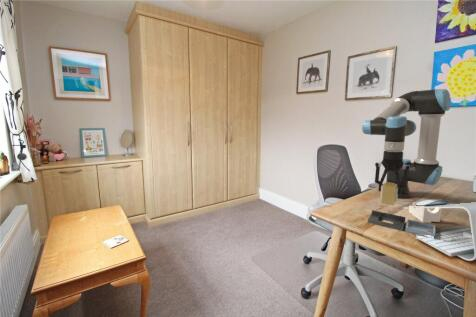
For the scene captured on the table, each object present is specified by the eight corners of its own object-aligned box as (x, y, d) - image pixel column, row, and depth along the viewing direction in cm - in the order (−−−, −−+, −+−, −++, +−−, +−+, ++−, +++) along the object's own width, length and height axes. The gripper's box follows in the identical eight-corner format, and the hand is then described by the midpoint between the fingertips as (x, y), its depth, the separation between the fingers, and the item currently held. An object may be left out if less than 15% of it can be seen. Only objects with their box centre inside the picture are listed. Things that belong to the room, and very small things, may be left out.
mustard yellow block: (383, 200, 114) (384, 181, 113) (395, 202, 111) (397, 183, 109) (381, 203, 111) (383, 183, 109) (393, 205, 107) (395, 185, 106)
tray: (407, 223, 111) (407, 219, 111) (434, 229, 105) (435, 225, 104) (405, 231, 104) (405, 227, 103) (434, 238, 97) (435, 233, 97)
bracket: (439, 223, 111) (441, 208, 110) (422, 222, 113) (424, 207, 111) (423, 212, 124) (425, 199, 122) (408, 212, 125) (410, 198, 124)
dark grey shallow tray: (371, 215, 121) (372, 210, 120) (404, 223, 112) (405, 217, 111) (367, 222, 113) (368, 216, 113) (402, 230, 104) (403, 224, 104)
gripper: (369, 150, 109) (365, 197, 113) (417, 153, 98) (411, 205, 102) (372, 148, 115) (369, 193, 119) (418, 151, 103) (413, 200, 108)
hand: (388, 199), depth 111 cm, fingers closed on mustard yellow block, 5 cm apart
